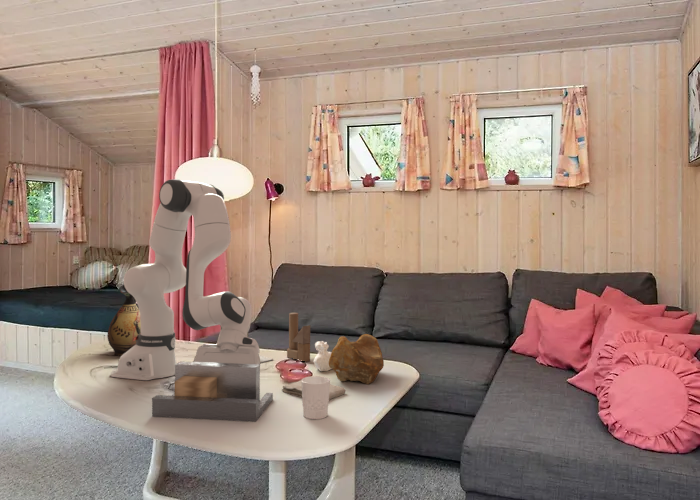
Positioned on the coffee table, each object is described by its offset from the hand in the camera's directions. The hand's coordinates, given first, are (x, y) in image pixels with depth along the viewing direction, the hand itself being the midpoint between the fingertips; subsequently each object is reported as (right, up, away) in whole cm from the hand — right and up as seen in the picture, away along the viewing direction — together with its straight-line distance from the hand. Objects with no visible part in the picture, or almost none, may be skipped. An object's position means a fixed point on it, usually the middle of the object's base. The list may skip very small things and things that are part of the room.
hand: (221, 385), depth 162 cm
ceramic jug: (-52, -2, +62) cm, 81 cm away
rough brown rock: (+42, -5, +27) cm, 50 cm away
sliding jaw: (-1, -5, -2) cm, 6 cm away
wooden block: (+18, -3, +55) cm, 58 cm away
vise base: (-1, -5, -4) cm, 7 cm away
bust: (+28, -4, +41) cm, 50 cm away
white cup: (+28, -6, -9) cm, 30 cm away
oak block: (-6, -6, -7) cm, 11 cm away
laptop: (-3, -4, +54) cm, 55 cm away
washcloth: (+26, -6, +11) cm, 29 cm away
